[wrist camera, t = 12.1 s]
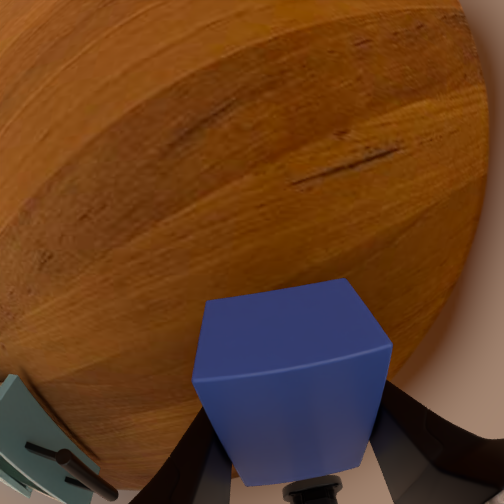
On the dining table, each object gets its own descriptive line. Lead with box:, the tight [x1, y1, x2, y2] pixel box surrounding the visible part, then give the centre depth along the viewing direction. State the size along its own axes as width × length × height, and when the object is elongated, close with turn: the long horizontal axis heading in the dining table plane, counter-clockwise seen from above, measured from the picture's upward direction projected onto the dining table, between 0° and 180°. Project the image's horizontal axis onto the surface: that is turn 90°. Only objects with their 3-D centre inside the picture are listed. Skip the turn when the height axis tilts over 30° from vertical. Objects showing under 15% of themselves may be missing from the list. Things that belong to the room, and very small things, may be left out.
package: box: [192, 278, 393, 487], centre depth 8 cm, size 5×7×4 cm, turn 9°
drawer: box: [0, 374, 118, 504], centre depth 12 cm, size 20×13×6 cm, turn 99°
